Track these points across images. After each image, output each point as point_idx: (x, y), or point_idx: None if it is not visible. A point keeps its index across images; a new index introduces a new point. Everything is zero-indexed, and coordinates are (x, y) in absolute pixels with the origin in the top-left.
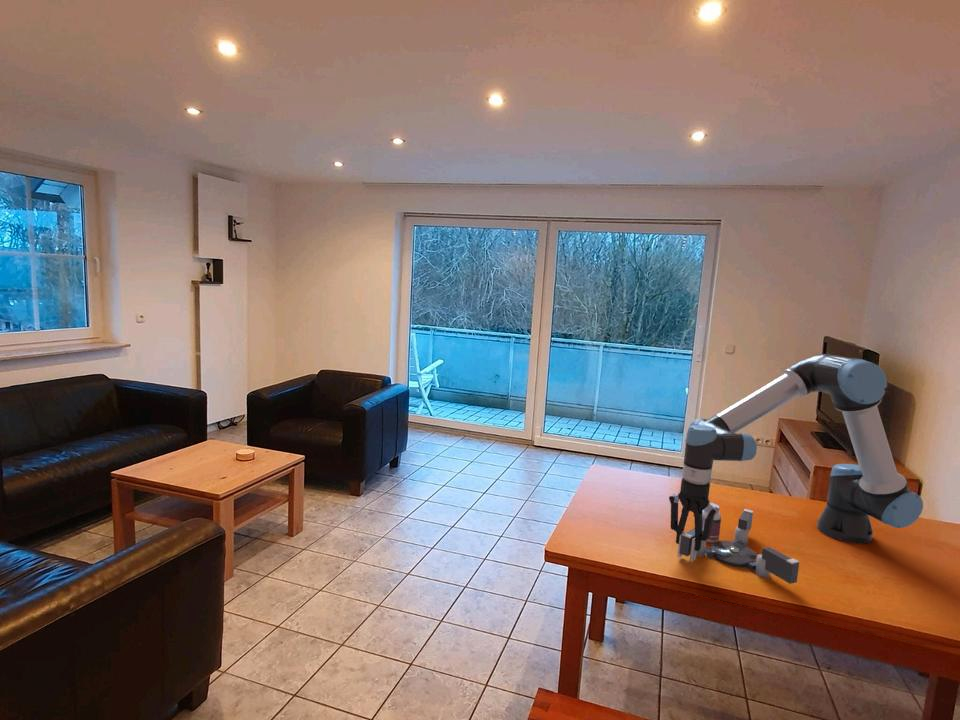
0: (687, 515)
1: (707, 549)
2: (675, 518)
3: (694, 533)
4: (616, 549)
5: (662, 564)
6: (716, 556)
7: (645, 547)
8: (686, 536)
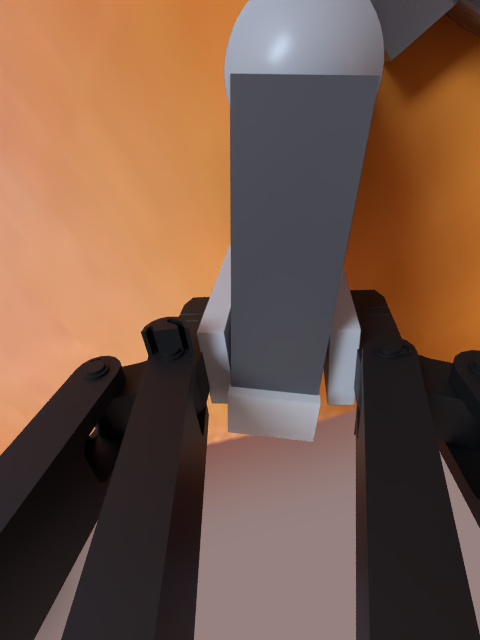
0: (171, 594)
1: (378, 7)
2: (80, 528)
3: (306, 323)
4: (29, 392)
5: None
6: (474, 26)
7: (60, 291)
8: (278, 432)
